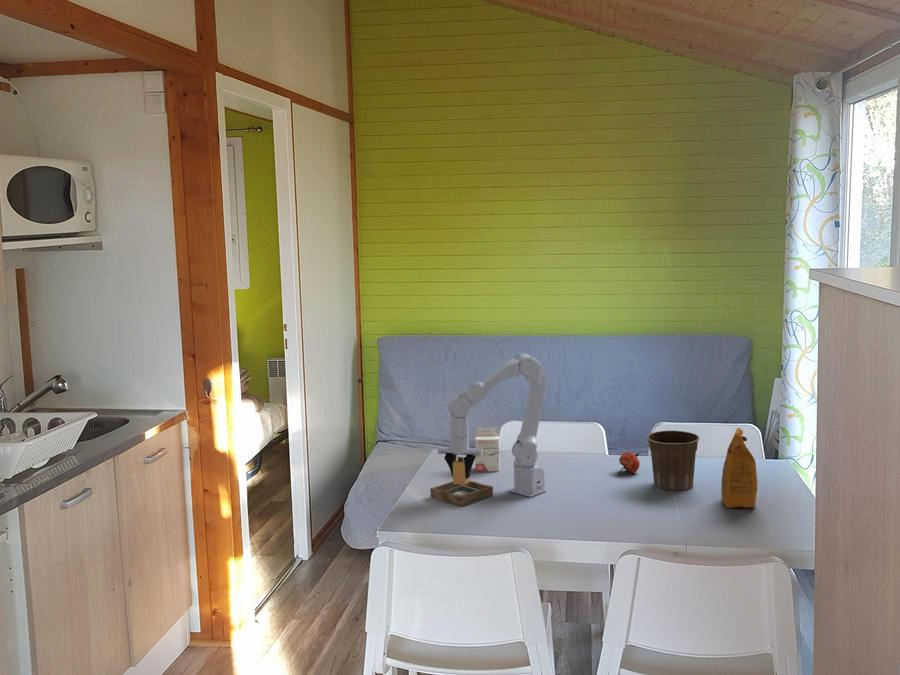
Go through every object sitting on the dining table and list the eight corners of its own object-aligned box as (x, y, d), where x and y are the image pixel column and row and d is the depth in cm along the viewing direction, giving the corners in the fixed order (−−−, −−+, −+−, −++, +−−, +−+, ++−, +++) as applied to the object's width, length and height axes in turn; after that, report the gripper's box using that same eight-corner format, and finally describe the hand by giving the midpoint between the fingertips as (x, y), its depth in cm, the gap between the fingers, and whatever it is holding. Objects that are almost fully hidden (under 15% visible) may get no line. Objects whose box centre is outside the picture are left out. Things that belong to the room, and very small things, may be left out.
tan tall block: (469, 481, 271) (468, 456, 270) (465, 484, 267) (464, 459, 266) (457, 480, 272) (456, 455, 271) (453, 484, 269) (452, 458, 268)
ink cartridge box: (475, 471, 297) (473, 430, 295) (476, 467, 302) (474, 427, 300) (499, 471, 296) (498, 430, 294) (500, 467, 301) (499, 427, 299)
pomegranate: (625, 483, 285) (648, 464, 284) (611, 466, 285) (634, 447, 284) (621, 479, 292) (644, 460, 292) (608, 462, 292) (630, 444, 292)
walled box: (493, 495, 270) (492, 486, 270) (461, 506, 260) (461, 497, 260) (461, 487, 280) (461, 478, 280) (430, 497, 270) (430, 488, 270)
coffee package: (755, 497, 258) (755, 426, 256) (758, 511, 247) (758, 437, 244) (720, 496, 261) (720, 425, 258) (722, 509, 249) (722, 436, 246)
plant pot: (679, 496, 262) (679, 445, 260) (636, 485, 274) (636, 437, 272) (709, 485, 272) (709, 436, 270) (667, 475, 284) (667, 428, 282)
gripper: (485, 433, 269) (486, 475, 270) (442, 430, 274) (444, 471, 276) (478, 438, 262) (479, 481, 264) (434, 436, 267) (436, 478, 269)
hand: (461, 477), depth 269 cm, fingers closed on tan tall block, 4 cm apart
